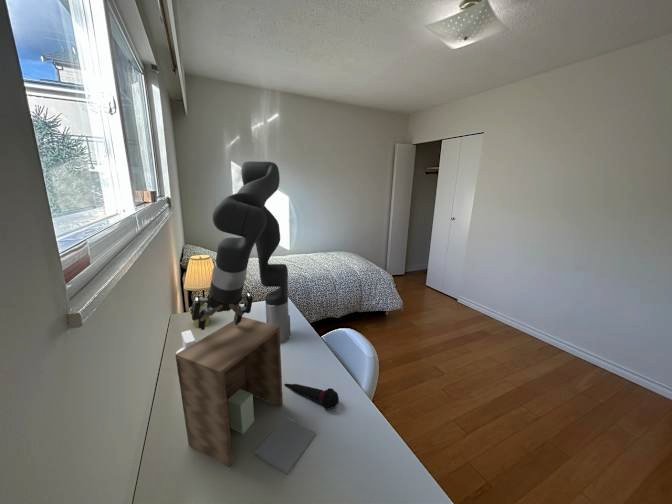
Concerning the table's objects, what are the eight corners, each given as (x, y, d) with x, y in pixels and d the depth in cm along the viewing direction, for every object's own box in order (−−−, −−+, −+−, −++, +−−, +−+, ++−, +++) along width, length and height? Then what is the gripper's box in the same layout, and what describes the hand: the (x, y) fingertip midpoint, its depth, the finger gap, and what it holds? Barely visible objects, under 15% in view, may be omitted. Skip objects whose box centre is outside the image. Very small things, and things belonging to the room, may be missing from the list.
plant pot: (207, 329, 124) (205, 312, 122) (186, 329, 124) (184, 312, 122) (216, 320, 133) (214, 303, 131) (197, 319, 133) (195, 303, 131)
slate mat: (286, 418, 77) (286, 417, 77) (316, 434, 72) (316, 432, 72) (255, 454, 67) (255, 452, 67) (287, 475, 62) (287, 473, 62)
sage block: (241, 415, 78) (239, 388, 76) (254, 421, 76) (252, 393, 74) (230, 427, 74) (227, 399, 72) (242, 433, 72) (240, 405, 70)
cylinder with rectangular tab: (175, 364, 100) (171, 334, 97) (202, 355, 105) (199, 327, 102) (179, 377, 93) (175, 346, 90) (208, 367, 98) (204, 337, 96)
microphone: (283, 397, 89) (335, 416, 79) (277, 385, 87) (330, 403, 77) (292, 383, 93) (343, 399, 83) (286, 371, 91) (339, 386, 81)
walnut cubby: (188, 444, 69) (175, 354, 63) (246, 390, 88) (240, 316, 81) (230, 468, 63) (220, 371, 57) (282, 404, 82) (279, 326, 76)
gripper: (253, 268, 72) (242, 311, 80) (193, 270, 64) (188, 318, 71) (261, 286, 67) (249, 331, 75) (198, 291, 59) (191, 341, 66)
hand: (219, 324), depth 73 cm, fingers open, 8 cm apart
